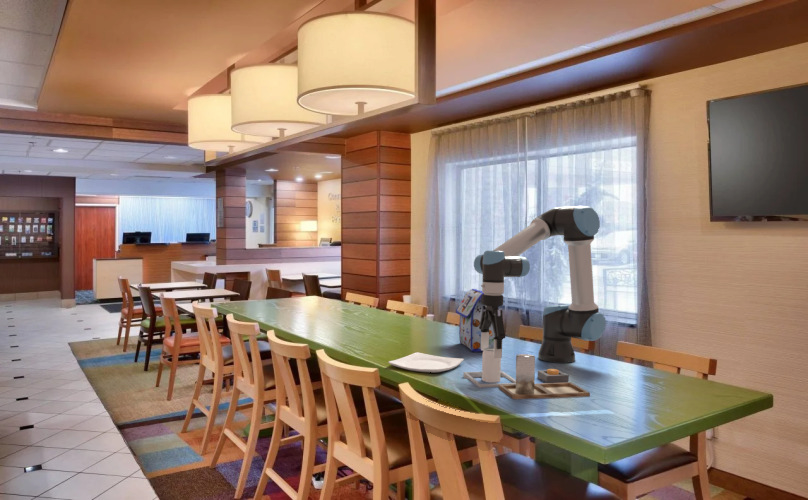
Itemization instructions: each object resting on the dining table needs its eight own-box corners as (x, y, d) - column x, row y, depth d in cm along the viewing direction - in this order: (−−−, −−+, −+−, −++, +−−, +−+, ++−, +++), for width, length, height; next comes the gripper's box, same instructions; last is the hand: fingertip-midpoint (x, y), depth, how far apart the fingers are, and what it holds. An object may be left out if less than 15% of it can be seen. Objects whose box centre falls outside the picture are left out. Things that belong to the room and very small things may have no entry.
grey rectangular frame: (502, 375, 210) (502, 370, 210) (520, 388, 192) (521, 383, 192) (463, 377, 207) (463, 372, 207) (478, 390, 190) (479, 385, 190)
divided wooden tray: (570, 388, 194) (570, 382, 194) (589, 398, 182) (589, 392, 181) (498, 390, 189) (499, 385, 189) (513, 402, 177) (513, 395, 177)
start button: (555, 379, 203) (555, 368, 203) (560, 382, 199) (560, 371, 199) (545, 380, 203) (545, 368, 203) (549, 382, 199) (550, 371, 199)
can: (500, 385, 196) (500, 351, 196) (481, 384, 197) (481, 350, 197) (500, 381, 202) (501, 347, 202) (482, 379, 204) (483, 346, 203)
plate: (439, 377, 207) (439, 370, 207) (383, 368, 220) (383, 361, 220) (467, 365, 228) (467, 358, 228) (415, 357, 241) (415, 351, 241)
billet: (529, 389, 188) (530, 353, 187) (537, 394, 182) (538, 357, 182) (512, 390, 187) (513, 354, 186) (519, 395, 181) (520, 358, 180)
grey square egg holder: (558, 379, 206) (558, 369, 206) (568, 385, 198) (568, 375, 198) (537, 380, 204) (537, 370, 204) (547, 386, 196) (547, 376, 196)
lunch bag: (453, 343, 272) (454, 288, 272) (486, 342, 275) (487, 288, 274) (466, 353, 250) (467, 292, 249) (501, 352, 253) (503, 292, 252)
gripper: (471, 290, 211) (470, 347, 211) (494, 297, 186) (492, 361, 186) (490, 290, 212) (489, 347, 212) (516, 298, 188) (514, 361, 188)
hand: (490, 354), depth 199 cm, fingers open, 13 cm apart
